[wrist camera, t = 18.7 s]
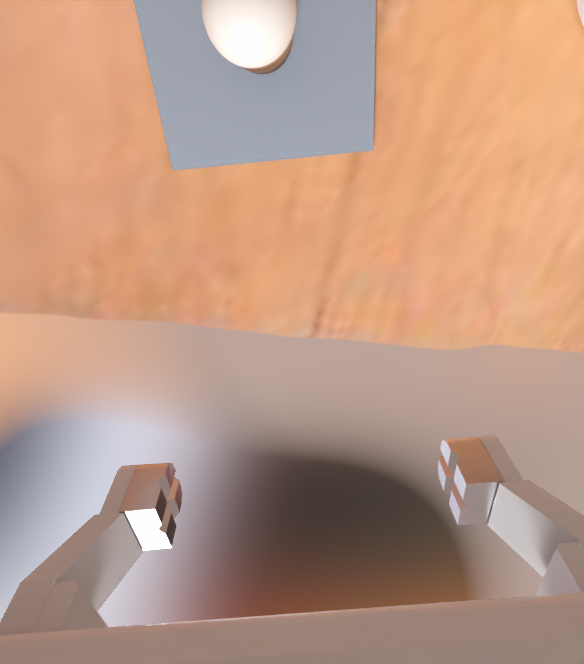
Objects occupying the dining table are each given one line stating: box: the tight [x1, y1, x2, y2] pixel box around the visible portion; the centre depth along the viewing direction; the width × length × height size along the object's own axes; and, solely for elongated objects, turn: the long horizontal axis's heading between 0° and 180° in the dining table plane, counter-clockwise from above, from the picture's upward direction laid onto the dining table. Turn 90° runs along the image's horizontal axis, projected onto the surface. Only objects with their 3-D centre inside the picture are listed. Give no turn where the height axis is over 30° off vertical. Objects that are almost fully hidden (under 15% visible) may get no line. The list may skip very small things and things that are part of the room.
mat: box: [134, 0, 376, 170], centre depth 31 cm, size 18×22×1 cm
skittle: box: [201, 0, 297, 74], centre depth 25 cm, size 5×5×14 cm
